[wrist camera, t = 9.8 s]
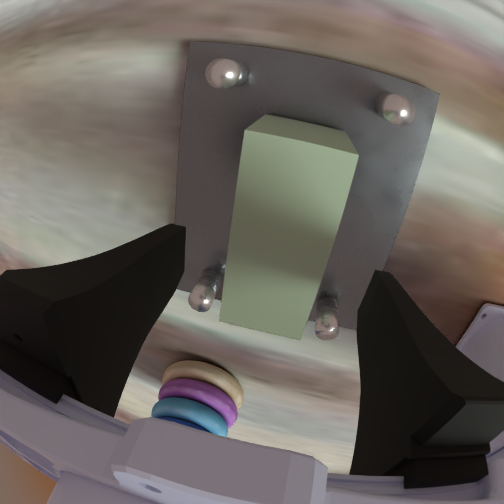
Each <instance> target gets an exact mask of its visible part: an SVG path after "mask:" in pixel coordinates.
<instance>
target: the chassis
mask: <svg viewBox="0 0 504 504" xmlns="http://www.w3.org/2000/svg"><path fill="white" fill-rule="evenodd" d="M439 95H440V93H438V92H435V91H432V90H430V89H427V88H425V87H422V86H419V85H417V84H414V83H411V82H408V81H405V80H402V79H399V78H396V77H393V76H390V75H387V74H384V73H380V72H377V71H374V70H370V69H367V68H363V67H359V66H356V65H352V64H348V63H344V62H340V61H336V60H331V59H327V58H322V57H317V56H312V55H307V54H302V53H297V52H291V51H285V50H278V49H272V48H264V47H256V46H248V45H238V44H226V43H212V42H190V46H189V53H188V61H187V69H186V78H185V87H184V96H183V106H182V117H181V128H180V141H179V155H178V170H177V189H176V213H175V225H180V226H185V227H186V242H185V271H184V273H183V276H182V278H181V280H180V282H179V284H178V287H177V289H179V290H182V291H186V292H190V293H191V295H190V296H189V299H188V302H189V304H190V306H191V307H192V308H193V309H194V310H196V311H199V312H205V311H208V310H209V309H210V307H211V304H212V302H213V300H214V299H218V300H222V293H223V284H224V276H225V268H226V261H227V253H228V245H229V237H230V230H231V222H232V215H233V208H234V200H235V193H236V186H237V179H238V172H239V165H240V158H241V151H242V144H243V138H244V131H245V129H247V128H248V127H249V126H250V125H252V124H253V123H255V122H256V121H257V120H259V119H260V118H261V117H263V116H264V115H265V114H267V115H272V116H278V117H283V118H288V119H293V120H297V121H302V122H307V123H311V124H316V125H320V126H324V127H328V128H332V129H336V130H340V131H344V132H346V133H347V135H348V136H349V138H350V140H351V142H352V143H353V145H354V147H355V149H356V151H357V152H358V154H359V157H358V161H357V165H356V169H355V172H354V176H353V180H352V183H351V187H350V190H349V194H348V197H347V201H346V204H345V208H344V211H343V214H342V218H341V221H340V224H339V228H338V231H337V234H336V237H335V241H334V244H333V247H332V250H331V253H330V256H329V259H328V262H327V265H326V268H325V271H324V274H323V277H322V280H321V283H320V286H319V289H318V292H317V295H316V298H315V301H314V304H313V306H312V309H311V312H310V315H309V318H308V320H310V321H315V322H316V330H315V333H316V335H317V337H318V338H320V339H322V340H331V339H334V338H335V337H337V335H338V333H339V326H340V327H345V328H350V329H357V311H358V309H359V306H360V304H361V302H362V300H363V297H364V295H365V293H366V290H367V288H368V286H369V283H370V281H371V278H372V276H373V274H374V271H375V270H380V271H383V269H384V267H385V264H386V262H387V259H388V257H389V254H390V252H391V249H392V247H393V244H394V242H395V239H396V237H397V234H398V231H399V229H400V226H401V223H402V221H403V218H404V215H405V212H406V209H407V207H408V204H409V201H410V198H411V195H412V192H413V189H414V186H415V183H416V180H417V177H418V173H419V170H420V167H421V164H422V160H423V157H424V153H425V150H426V147H427V143H428V139H429V136H430V132H431V128H432V124H433V120H434V116H435V112H436V108H437V104H438V100H439Z"/></svg>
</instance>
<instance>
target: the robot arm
mask: <svg viewBox="0 0 504 504" xmlns="http://www.w3.org/2000/svg"><path fill="white" fill-rule="evenodd" d="M185 242H186V227H185V226H180V225H175V224H169V225H166V226H164V227H161V228H159V229H157V230H155V231H152V232H150V233H148V234H146V235H144V236H142V237H139V238H137V239H135V240H133V241H131V242H128V243H126V244H123V245H121V246H119V247H116V248H114V249H111V250H109V251H106V252H103V253H100V254H97V255H94V256H91V257H88V258H84V259H81V260H76V261H72V262H68V263H64V264H59V265H53V266H47V267H40V268H32V269H17V270H6V271H5V272H4V273H3V274H2V275H0V442H1V443H3V444H4V445H5V446H6V447H8V448H9V449H10V450H11V451H13V452H14V453H15V454H17V455H18V456H19V457H21V458H22V459H23V460H25V461H26V462H28V463H29V464H30V465H32V466H33V467H35V468H36V469H38V470H39V471H41V472H42V473H44V474H45V475H47V476H48V477H50V478H51V479H53V480H54V481H56V482H57V484H56V486H55V488H54V490H53V491H52V493H51V495H50V498H49V500H48V501H47V504H504V307H503V306H499V305H494V304H490V303H486V304H484V305H483V306H482V307H481V309H480V310H479V312H478V314H477V315H476V317H475V318H474V320H473V321H472V323H471V324H470V326H469V328H468V329H467V331H466V332H465V333H464V335H463V336H462V338H461V339H460V341H459V342H458V344H457V345H456V346H454V345H453V344H452V343H451V342H450V341H449V340H448V339H447V338H446V337H445V336H444V335H443V334H442V333H441V332H440V331H439V330H438V329H437V328H436V327H435V326H434V325H433V324H432V323H431V322H430V320H429V319H428V318H427V317H426V316H425V315H424V314H423V312H422V311H421V310H420V309H419V307H418V306H417V305H416V304H415V303H414V301H413V300H412V299H411V298H410V296H409V295H408V294H407V292H406V291H405V290H404V289H403V287H402V286H401V285H400V284H399V282H398V281H397V280H396V279H395V278H394V277H393V276H392V275H391V274H390V273H388V272H384V271H380V270H375V271H374V274H373V276H372V278H371V281H370V283H369V286H368V288H367V290H366V293H365V295H364V297H363V300H362V302H361V304H360V306H359V309H358V311H357V344H358V355H359V367H360V381H361V395H360V410H359V420H358V429H357V436H356V443H355V449H354V455H353V460H352V465H351V469H350V474H349V475H346V474H334V473H328V468H327V467H326V466H325V465H324V464H323V463H321V462H320V461H318V460H317V459H315V458H314V457H313V456H309V455H305V454H302V453H298V452H294V451H291V450H285V449H279V448H274V447H268V446H263V445H258V444H254V443H249V442H245V441H240V440H236V439H232V438H228V437H224V436H220V435H216V434H212V433H209V432H205V431H202V430H198V429H195V428H191V427H188V426H185V425H182V424H179V423H175V422H171V421H167V420H162V419H158V418H154V417H149V418H141V419H135V420H132V422H131V424H128V423H125V422H123V421H120V420H118V419H116V418H114V415H115V412H116V409H117V406H118V403H119V400H120V397H121V395H122V392H123V389H124V387H125V384H126V381H127V379H128V376H129V374H130V372H131V369H132V367H133V364H134V362H135V360H136V358H137V355H138V353H139V351H140V349H141V347H142V345H143V343H144V341H145V339H146V337H147V335H148V333H149V332H150V330H151V328H152V327H153V325H154V324H155V322H156V321H157V319H158V318H159V316H160V314H161V313H162V311H163V310H164V308H165V307H166V305H167V304H168V302H169V300H170V299H171V297H172V296H173V294H174V292H175V291H176V289H177V287H178V284H179V282H180V280H181V278H182V276H183V273H184V271H185ZM483 314H484V315H483Z"/></svg>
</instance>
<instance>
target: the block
mask: <svg viewBox="0 0 504 504" xmlns="http://www.w3.org/2000/svg"><path fill="white" fill-rule="evenodd" d="M358 157H359V154H358V152H357V151H356V149H355V147H354V145H353V143H352V142H351V140H350V138H349V136H348V135H347V133H346V132H344V131H340V130H336V129H332V128H328V127H324V126H320V125H316V124H311V123H307V122H302V121H297V120H293V119H288V118H283V117H278V116H272V115H267V114H265V115H264V116H263V117H261V118H260V119H259V120H257V121H256V122H255V123H253V124H252V125H250V126H249V127H248V128H247V129H245V131H244V138H243V144H242V151H241V158H240V165H239V172H238V179H237V186H236V193H235V200H234V208H233V215H232V222H231V230H230V237H229V245H228V253H227V261H226V268H225V276H224V284H223V293H222V301H221V309H220V318H219V321H220V322H224V323H228V324H232V325H236V326H240V327H245V328H249V329H253V330H257V331H261V332H266V333H270V334H275V335H279V336H284V337H288V338H293V339H297V340H300V339H301V337H302V334H303V331H304V328H305V326H306V323H307V320H308V318H309V315H310V312H311V309H312V306H313V304H314V301H315V298H316V295H317V292H318V289H319V286H320V283H321V280H322V277H323V274H324V271H325V268H326V265H327V262H328V259H329V256H330V253H331V250H332V247H333V244H334V241H335V237H336V234H337V231H338V228H339V224H340V221H341V218H342V214H343V211H344V208H345V204H346V201H347V197H348V194H349V190H350V187H351V183H352V180H353V176H354V172H355V169H356V165H357V161H358Z"/></svg>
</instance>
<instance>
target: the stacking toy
mask: <svg viewBox="0 0 504 504" xmlns="http://www.w3.org/2000/svg"><path fill="white" fill-rule="evenodd" d="M162 383H163V386H162V387H161V389H160V391H159V396H158V399H159V401H158V402H157V403H156V404H155V405H154V407H153V409H152V417H154V418H158V419H162V420H167V421H171V422H175V423H179V424H182V425H185V426H188V427H191V428H195V429H198V430H202V431H205V432H209V433H212V434H216V435H220V436H224V437H227V433H228V428H229V427H231V426H232V425H233V424H234V423H235V421H236V419H237V415H238V412H237V410H238V409H239V408H240V407H241V405H242V403H243V400H244V393H243V389H242V387H241V385H240V384H239V382H238V381H237V380H236V379H235V378H234V377H233V376H231V375H230V374H229V373H227V372H226V371H224V370H223V369H221V368H219V367H216V366H214V365H211V364H208V363H205V362H200V361H192V360H185V361H179V362H176V363H173V364H172V365H170V366H169V367H168V368H167V369H166V370H165V372H164V374H163V378H162Z"/></svg>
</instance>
